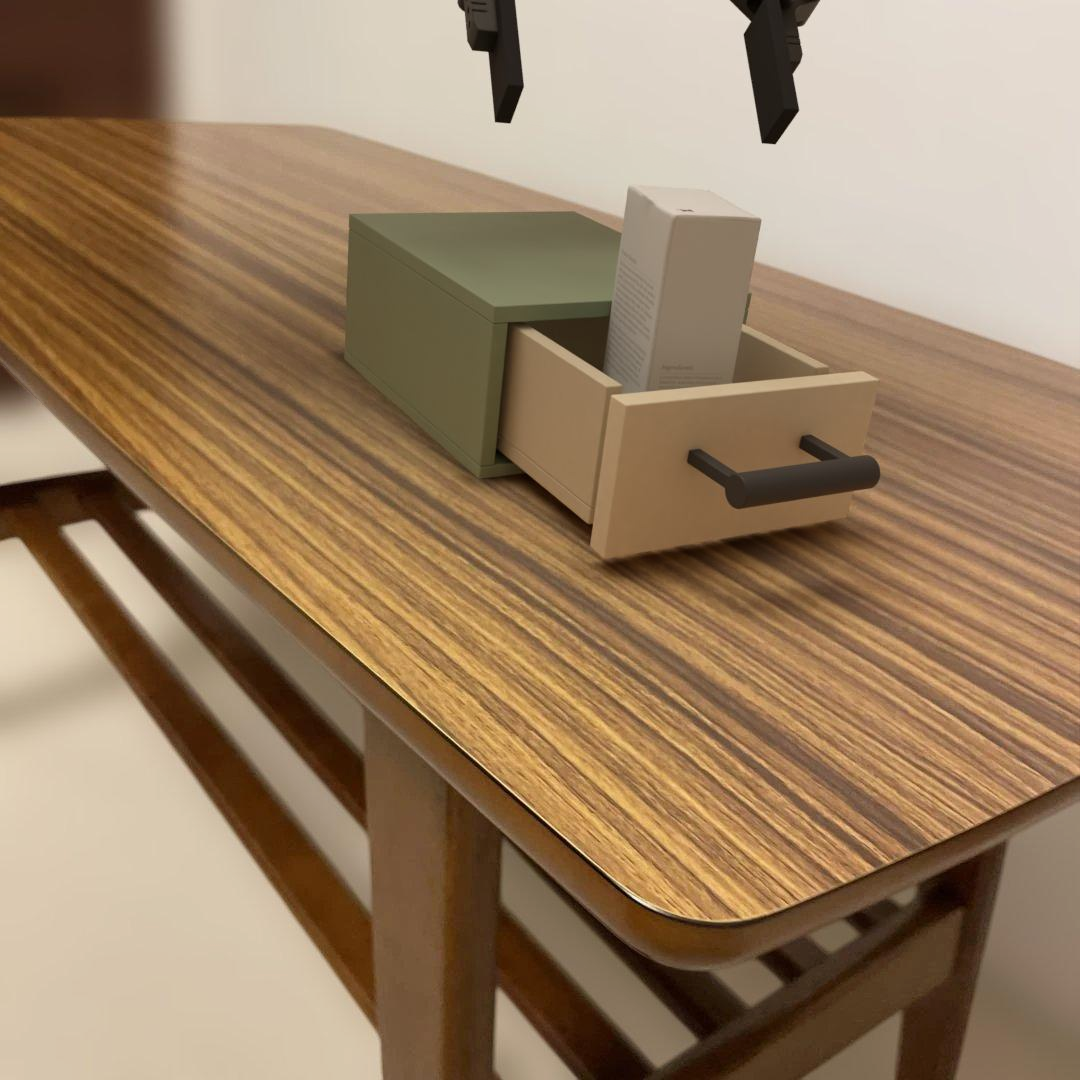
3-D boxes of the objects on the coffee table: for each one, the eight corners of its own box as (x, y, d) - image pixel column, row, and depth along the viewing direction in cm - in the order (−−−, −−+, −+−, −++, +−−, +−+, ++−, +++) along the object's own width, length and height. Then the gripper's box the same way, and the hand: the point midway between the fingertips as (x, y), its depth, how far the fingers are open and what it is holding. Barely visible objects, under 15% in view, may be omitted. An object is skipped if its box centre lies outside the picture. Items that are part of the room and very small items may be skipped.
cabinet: (723, 451, 66) (752, 293, 62) (478, 482, 59) (494, 306, 55) (558, 346, 79) (574, 211, 75) (343, 361, 72) (348, 213, 68)
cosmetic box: (717, 479, 57) (766, 218, 51) (631, 481, 56) (671, 213, 50) (671, 429, 62) (711, 187, 57) (590, 429, 61) (623, 182, 55)
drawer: (912, 558, 54) (951, 413, 51) (661, 608, 48) (689, 446, 45) (650, 395, 70) (668, 276, 67) (435, 415, 63) (444, 286, 60)
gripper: (787, -140, 71) (848, 179, 65) (354, -203, 65) (375, 145, 58) (849, -257, 64) (923, 87, 58) (371, -340, 58) (397, 37, 52)
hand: (648, 117), depth 58 cm, fingers open, 13 cm apart
